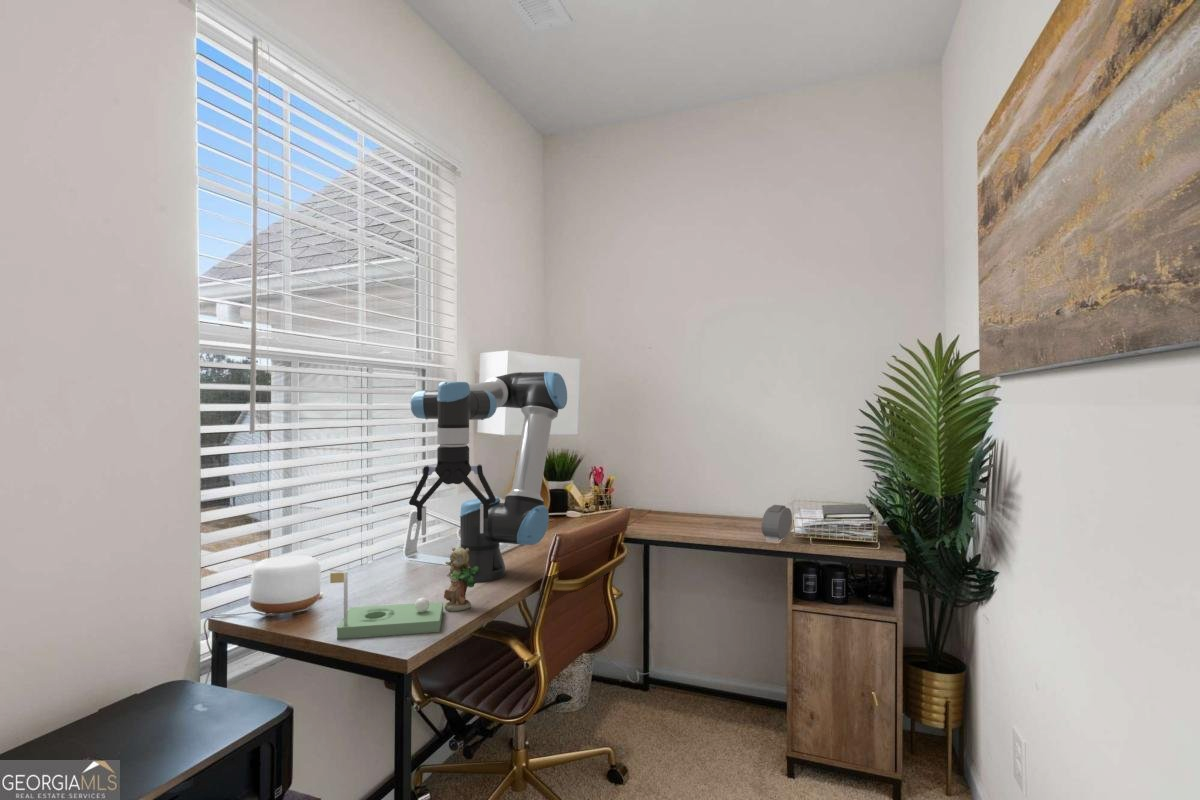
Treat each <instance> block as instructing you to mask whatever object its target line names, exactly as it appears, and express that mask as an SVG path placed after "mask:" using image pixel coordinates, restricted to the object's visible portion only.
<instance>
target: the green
mask: <svg viewBox="0 0 1200 800" xmlns="http://www.w3.org/2000/svg"><path fill="white" fill-rule="evenodd" d="M414 605H415V603H403V604H385V605H369V606H368V605H367V606H353V607H348V625H347V626H344V617H343V618H342V619H341V621H340V623H339V624H338V626H337V628H336V631H337V632H336V636H337V637H336V639H337V640H342V639H343V640H344V639H357V638H370V637H371V638H372V637H382V636H385V637H386V636H397V635H399V636H400V635H410V634H411V635H412V634H426V633H427V634H428V633H439V632H440V631H441V625H442V619H443V614H444V601H437V602H436V601H434V602H429V608H428V609H427V610H426V611H425V612H422V613H420V612H417V611H416V610H415V607H414Z"/></svg>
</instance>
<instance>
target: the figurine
mask: <svg viewBox="0 0 1200 800" xmlns="http://www.w3.org/2000/svg"><path fill="white" fill-rule="evenodd" d="M451 549H452V552H451V553H450V555H449V560H450V561H445V562H444V564H445V565H448V566H450V569H449V572H448V573H447V574H446V577H448V578H449V579H450V586H449V588H447V589H444V594H443V598H444V600H446V601H448V602H447V603H446V604H444V610H445V611H448V612H453V613H454V612H461V611H464V610H468V609H469V608H471V607H472V604H471V602H470V600H468V599H467V598H466V594H467V590H468V589H467V588H473V587H475V584H476V582H475V581H474V579H475V578H474V577H473V576H474V575H475V574H476V573H478V571H479V567H476V566H475V567H474V568H471V567H470V566H469V563H468V561H469V554H468V551H470V550H469V548H466V550H465V549H464V548H462V547H461V546H460V547H458V548H456V547H452V548H451ZM470 568H471V569H470Z"/></svg>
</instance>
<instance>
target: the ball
mask: <svg viewBox="0 0 1200 800" xmlns="http://www.w3.org/2000/svg"><path fill="white" fill-rule="evenodd" d="M429 603H430V602H429V600H428V599H427V598H426V597H419V598H417V599H416V601H415V602H414V604H415V605H414V607H415V610H416V611H417V612H420V613H422V612H425V611H426V610H427V609H428V608H429Z"/></svg>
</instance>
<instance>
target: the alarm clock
mask: <svg viewBox="0 0 1200 800" xmlns="http://www.w3.org/2000/svg"><path fill="white" fill-rule="evenodd" d="M792 521H793V514H792V511H791V508H789V507H787V506H786V505H780V504H773V505H771V506H769V507H767V509H766V510H765V512H764V514H763V516H762V519H761V533H762V535H763V536H764V537H765V541H766V540H767V541H779V540H781V539H783V538H785V537H786V536H787V535H788V536H789V533H790V531H791V527H792ZM788 536H787V537H788ZM787 537H786V538H787ZM786 538H785V539H786Z"/></svg>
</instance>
